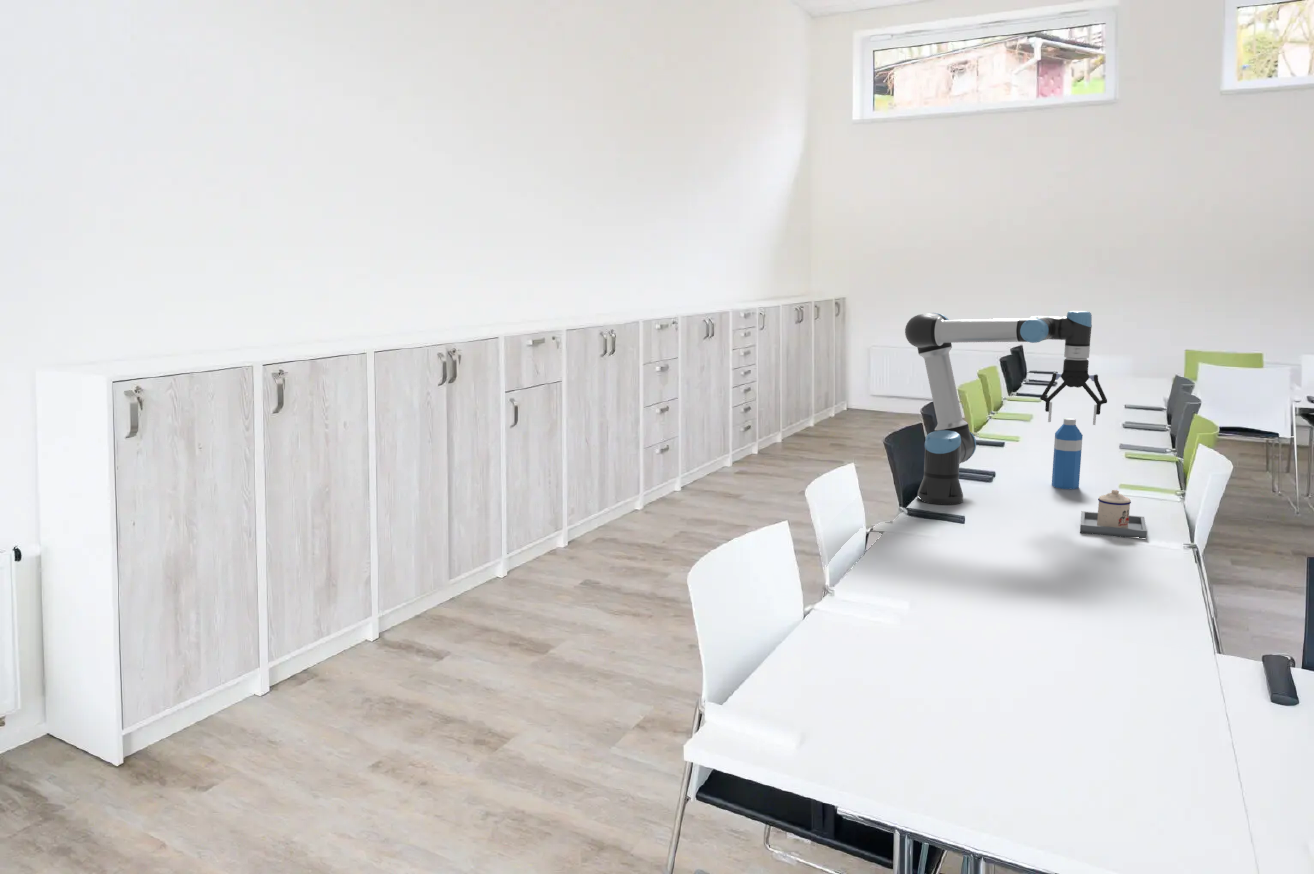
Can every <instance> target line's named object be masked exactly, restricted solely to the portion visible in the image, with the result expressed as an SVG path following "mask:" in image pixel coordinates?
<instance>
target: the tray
mask: <svg viewBox="0 0 1314 874" xmlns="http://www.w3.org/2000/svg"><path fill="white" fill-rule="evenodd" d="M1097 519H1098V511H1097V512H1095V511H1093V512H1092V511H1084V510H1083V511H1082V510H1081V513H1080V525H1079V526H1080V528H1079V533H1080V534H1086V535H1087V534H1088V535H1094V536H1095V535H1096V536H1104V537H1105V536H1106V537H1117V538H1125V537H1139V538H1146V539H1147V533H1148V530H1147V525H1146V520H1145V516H1138V515H1130V514H1129V521H1128V528H1118V527H1107V526H1097ZM1120 536H1121V537H1120Z"/></svg>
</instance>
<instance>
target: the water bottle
mask: <svg viewBox="0 0 1314 874" xmlns="http://www.w3.org/2000/svg"><path fill="white" fill-rule="evenodd" d="M1076 422H1077V419H1076V418H1073V417H1069V418H1068V417H1066V418H1065V417H1064V418H1063V422H1062V424H1061V426H1060V427H1059V428H1058V429H1057V430H1056V431H1055V433H1054V442H1053V443H1054V444H1053V445H1054V446H1053V458H1052V459H1053V461H1052V471H1051V472H1052V476H1051V486H1052V487H1053V488H1056V489H1061V490H1076V489H1079V487H1080V477H1081V476H1080V474H1081V464H1082V463H1081V462H1082V461H1081V460H1082V447H1083V446H1082V445H1083V434H1082V432H1081V431H1080V429H1079V428H1078V426H1077V425H1076Z"/></svg>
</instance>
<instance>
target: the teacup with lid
mask: <svg viewBox="0 0 1314 874" xmlns="http://www.w3.org/2000/svg"><path fill="white" fill-rule="evenodd" d="M1119 492H1120V491H1119V490H1118V489H1111V492H1107V494H1103V495H1100V496H1099V497H1098V499H1097V500H1098V507H1097V508H1098V510H1097V513H1098V519H1097V526H1107V527H1118V528H1128V521H1129V515H1130V508H1131V504H1132V501H1131V499H1130V497H1126V496H1125V495H1123V494H1121V493H1119Z"/></svg>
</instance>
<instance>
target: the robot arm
mask: <svg viewBox="0 0 1314 874" xmlns="http://www.w3.org/2000/svg"><path fill="white" fill-rule="evenodd" d="M1092 318H1093V316H1092V312H1090V311H1089V310H1088V311H1087V310H1069V311H1067V314H1066V316H1049V315H1048V316H1046V315H1045V316H1044V315H1034V316H1033V315H1032V316H1029V318H1028V317H1027V318H993V319H991V318H989V319H987V318H986V319H982V318H981V319H951V320H950V319H949V318H948V317H947V316H946V315H943V314H942V313H939V312H928V313H924V314H923V313H922V314H917V315H914V316H912V317H911V318H910V319H909V320H908V322H907V323H906V325H905V327H904V335H905V338H906V340H907V341H908V343H909V344H910V345H912V346H913V347H915V348H917V352H918V355H919V356H920V357H922V358H923V359H924V364H925V369H926V374H927V378H928V383H929V387H930V388H929V389H930V393H931V398H932V402H933V403H932V404H933V407H934V413H935V416H936V421H937V425H936V426H935V428H934V431H931V432H929V433H928V434H926V437H925V441H924V460H923V461H924V462H923V463H924V464H923V477H922V478H923V479H922V481H921V483H920V485H919V488H918V490H917V497H918V496H919V497H920V498H921V500H923V501H925V502H924V503H926V502H929V503H928V504H933V505H945V504H948V505H957V504H961V503H963V501H964V492H963V490H962V486H961V483H960V464H963V463H964V462H967V461H968V460H969V459H970V458H971V457H972V456H973V455H974V454H975V452H976V449H977V440H976V437H975V435H974V434H973V433H972V432H971V431H970V426H969V423H968V422H967V421H966V420H964V419H963V415H962V410H961V406H960V400H959V396H958V392H957V387H956V381H955V377H954V372H953V368H952V367H953V365H952V361H951V358H950V351H951V350H952V348H953V346H952V343H953V344H954V343H1026V342H1027V343H1032V344H1033V343H1034V344H1036V343H1040V342H1043V341H1046V340H1055V341H1056V340H1057V341H1058V340H1059V341H1062V340H1063V341H1065V343H1064V356H1063V357H1064V359H1063V369H1062V373H1058V372H1055V371H1054V372H1053V373H1052V375H1051V380H1050V381H1049V383H1048V385H1047V386H1046V387H1045V389H1044V391H1043V393H1042V394H1041V395H1040V397H1039V399H1040V400H1041V401H1043V402H1045V409H1044V411H1045V412H1047V413H1048V419H1047V423H1051V422H1052V412H1053V411H1052V409H1053V401H1052V400H1053V399H1054V398H1055V397H1056V396H1057V395H1058V394H1060V393H1061V391H1062V390H1063V389H1064V388H1066V387H1068V388H1083V389H1084V390H1085V391H1086V393H1087V394H1088V395H1089V397H1091V398H1092V400H1093V401H1094V404H1093V405H1094V406H1093V418H1092V419H1093V420H1092V426H1096V421H1097V420H1096V419H1097V415H1100V414H1101V408H1102V405H1104V404H1107V403H1108V398H1107V396H1106V395H1105V392H1104V391H1103V388H1102V386H1101V384H1100V382H1099V375H1098V374H1097V373H1095V374H1089V365H1090V364H1089V363H1090V361H1089V358H1090V351H1091V349H1090V348H1091V337H1092V336H1091V334H1092V328H1093V325H1092ZM1060 378H1061V380H1062V381H1063V382H1062V383H1061V384H1060V385H1059V386H1058V387H1057V388H1056V389H1055V390H1054V391H1053V392H1052V393H1051V394H1050V395H1048V394H1049V392H1050V390H1051V389H1052V387H1053V385H1054V384H1055V382H1056V381H1057V380H1059V379H1060ZM1089 379H1090V381H1091V382H1094V385H1095V387H1096V389H1097V392H1098V394H1099V396H1100V398H1101V399H1100V398H1099V397H1098V396H1097V395H1096V393H1095V392H1094V391H1093V390H1092V389H1091V387H1090V386H1089V384H1087V383H1086V382H1087V381H1088V380H1089ZM1047 395H1048V397H1047ZM923 501H922V502H923Z"/></svg>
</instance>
